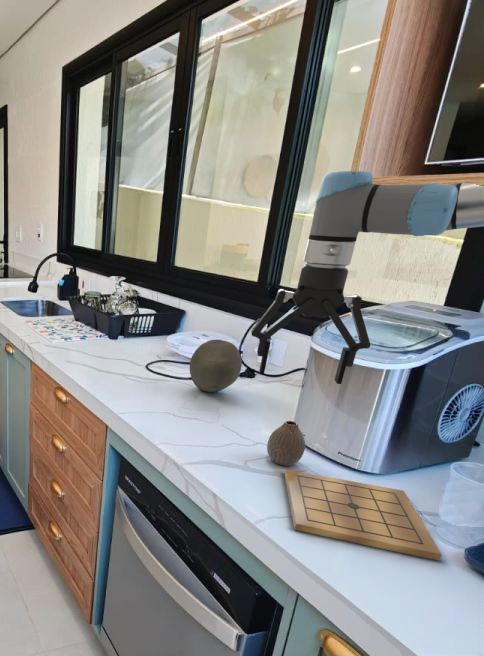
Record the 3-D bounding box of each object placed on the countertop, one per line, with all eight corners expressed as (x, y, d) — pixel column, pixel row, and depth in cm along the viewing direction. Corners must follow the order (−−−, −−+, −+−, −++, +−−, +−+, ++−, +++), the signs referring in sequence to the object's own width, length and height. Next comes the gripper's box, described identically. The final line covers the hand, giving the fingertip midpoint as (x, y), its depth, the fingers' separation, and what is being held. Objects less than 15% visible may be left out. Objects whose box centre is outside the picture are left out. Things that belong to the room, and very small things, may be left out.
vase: (267, 466, 102) (276, 427, 99) (261, 452, 109) (269, 414, 105) (304, 471, 101) (314, 431, 98) (295, 456, 107) (305, 418, 104)
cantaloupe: (175, 390, 145) (183, 339, 139) (202, 380, 153) (210, 332, 148) (220, 404, 135) (230, 350, 129) (246, 393, 143) (256, 342, 138)
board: (402, 496, 93) (404, 490, 93) (439, 561, 76) (442, 554, 75) (284, 474, 100) (285, 468, 99) (294, 529, 82) (295, 523, 82)
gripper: (252, 262, 92) (231, 373, 100) (412, 272, 84) (376, 392, 92) (251, 259, 98) (231, 363, 106) (400, 268, 90) (367, 380, 98)
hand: (298, 377), depth 99 cm, fingers open, 13 cm apart
